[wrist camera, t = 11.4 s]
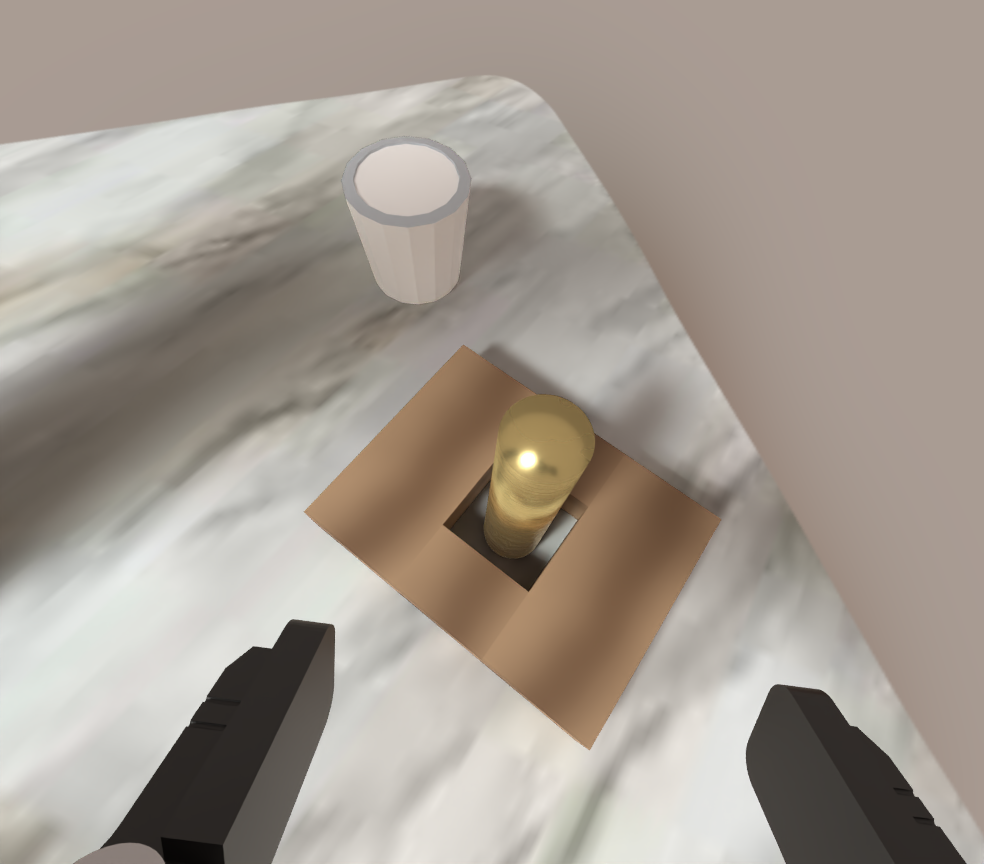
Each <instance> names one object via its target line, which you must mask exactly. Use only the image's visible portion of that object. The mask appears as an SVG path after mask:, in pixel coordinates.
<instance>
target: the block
mask: <svg viewBox="0 0 984 864" xmlns="http://www.w3.org/2000/svg"><path fill="white" fill-rule="evenodd" d="M532 395H537V394H536V393H534V392H533V391H531V390H530V389H528V388H527V387H525V386H524V385H522V384H521V383H519V382H518V381H516V380H515V379H513V378H512V377H510V376H509V375H507V374H506V373H505V372H503V371H502V370H500V369H499V368H497V367H496V366H494V365H493V364H491V363H490V362H488V361H487V360H485V359H484V358H482V357H481V356H479V355H478V354H476V353H475V352H474V351H472V350H471V349H469V348H468V347H466V346H465V345H463V346H462V347H461V348H460V349H459V350H458V351H457V352H456V353H455V354H454V355H453V356H452V357H451V358H450V359H449V360H448V361H447V362H446V363H445V364H444V365H443V367H442V368H441V369H440V370H439V371H438V372H437V373H436V374H435V375H434V376H433V377H432V378H431V379H430V380H429V381H428V382H427V383H426V384H425V385H424V386H423V387H422V389H421V390H420V391H419V392H418V393H417V394H416V395H415V396H414V397H413V398H412V399H411V400H410V401H409V402H408V403H407V404H406V405H405V406H404V407H403V408H402V410H401V411H400V412H399V413H398V414H397V415H396V416H395V417H394V418H393V419H392V420H391V421H390V422H389V423H388V424H387V425H386V426H385V427H384V428H383V429H382V430H381V432H380V433H379V434H378V435H377V436H376V437H375V438H374V439H373V440H372V441H371V442H370V443H369V444H368V445H367V446H366V447H365V448H364V449H363V450H362V451H361V453H360V454H359V455H358V456H357V457H356V458H355V459H354V460H353V461H352V462H351V463H350V464H349V465H348V466H347V467H346V468H345V469H344V470H343V471H342V472H341V473H340V475H339V476H338V477H337V478H336V479H335V480H334V481H333V482H332V483H331V484H330V485H329V486H328V487H327V488H326V489H325V490H324V491H323V492H322V493H321V494H320V496H319V497H318V498H317V499H316V500H315V501H314V502H313V503H312V504H311V505H310V506H309V507H308V508H307V509H306V510H305V511H304V512H305V513H306V514H307V515H308V516H309V517H310V518H311V519H312V520H313V521H314V522H315V523H316V524H317V525H318V526H319V527H321V528H322V529H323V530H324V531H325V532H327V533H328V534H329V535H330V536H331V537H333V538H334V539H335V540H336V541H337V542H339V543H340V544H341V545H342V546H343V547H345V548H346V549H347V550H348V551H349V552H351V553H352V554H353V555H354V556H355V557H357V558H358V559H359V560H360V561H361V562H363V563H364V564H365V565H366V566H367V567H369V568H370V569H371V570H372V571H373V572H375V573H376V574H377V575H378V576H379V577H381V578H382V579H383V580H384V581H385V582H387V583H388V584H389V585H390V586H391V587H392V588H394V589H395V590H396V591H397V592H398V593H400V594H401V595H402V596H403V597H404V598H406V599H407V600H408V601H409V602H410V603H412V604H413V605H414V606H415V607H416V608H418V609H419V610H420V611H421V612H422V613H424V614H425V615H426V616H427V617H428V618H430V619H431V620H432V621H433V622H434V623H436V624H437V625H438V626H439V627H440V628H442V629H443V630H444V631H445V632H446V633H448V634H449V635H450V636H451V637H452V638H454V639H455V640H456V641H457V642H458V643H460V644H461V645H462V646H463V647H464V648H466V649H467V650H468V651H469V652H470V653H472V654H473V655H474V656H475V657H476V658H478V659H479V660H480V661H481V662H482V663H483V664H485V665H486V666H487V667H488V668H489V669H491V670H492V671H493V672H494V673H495V674H497V675H498V676H499V677H500V678H501V679H503V680H504V681H505V682H506V683H507V684H509V685H510V686H511V687H512V688H513V689H515V690H516V691H517V692H518V693H519V694H521V695H522V696H523V697H524V698H525V699H527V700H528V701H529V702H530V703H531V704H533V705H534V706H535V707H536V708H537V709H539V710H540V711H541V712H542V713H543V714H545V715H546V716H547V717H548V718H549V719H551V720H552V721H553V722H554V723H555V724H557V725H558V726H559V727H560V728H561V729H563V730H564V731H565V732H566V733H567V734H569V735H570V736H571V737H572V738H573V739H574V740H576V741H577V742H578V743H580V744H581V745H583V746H584V747H586V748H587V749H588V750H590V749H591V747H592V745H593V744H594V742H595V740H596V738H597V737H598V735H599V733H600V731H601V730H602V728H603V726H604V724H605V723H606V721H607V719H608V717H609V716H610V714H611V712H612V710H613V708H614V707H615V705H616V703H617V701H618V700H619V698H620V696H621V694H622V693H623V691H624V689H625V687H626V686H627V684H628V682H629V680H630V679H631V677H632V675H633V673H634V672H635V670H636V668H637V666H638V665H639V663H640V661H641V659H642V658H643V656H644V654H645V652H646V651H647V649H648V647H649V645H650V644H651V642H652V640H653V638H654V637H655V635H656V633H657V631H658V630H659V628H660V626H661V624H662V623H663V621H664V619H665V617H666V616H667V614H668V612H669V610H670V609H671V607H672V605H673V603H674V602H675V600H676V598H677V596H678V595H679V593H680V591H681V589H682V588H683V586H684V584H685V582H686V581H687V579H688V577H689V575H690V574H691V572H692V570H693V568H694V567H695V565H696V563H697V561H698V560H699V558H700V556H701V554H702V553H703V551H704V549H705V547H706V546H707V544H708V542H709V540H710V539H711V537H712V535H713V533H714V532H715V530H716V528H717V526H718V525H719V523H720V521H721V519H720V518H719V517H717V516H716V515H714V514H713V513H711V512H710V511H708V510H707V509H705V508H704V507H702V506H701V505H699V504H698V503H697V502H695V501H694V500H692V499H691V498H689V497H688V496H686V495H685V494H683V493H682V492H680V491H679V490H677V489H676V488H674V487H673V486H671V485H670V484H668V483H667V482H666V481H664V480H663V479H661V478H660V477H658V476H657V475H655V474H654V473H652V472H651V471H649V470H648V469H646V468H645V467H643V466H642V465H640V464H639V463H637V462H636V461H634V460H633V459H632V458H630V457H629V456H627V455H626V454H624V453H623V452H621V451H620V450H618V449H617V448H615V447H614V446H612V445H611V444H609V443H608V442H606V441H605V440H603V439H602V438H601V437H599V436H598V435H596V434H595V433H594V436H595V448H594V453H593V456H592V458H591V461H590V462H589V464H588V465H587V467H586V469H585V470H584V472H583V473H582V475H581V476H580V478H579V480H578V481H577V483H576V484H575V486H574V488H573V489H572V491H571V492H570V494H569V495H568V497H567V499H566V500H565V502H564V503H563V505H562V507H561V508H562V509H563V510H565V511H566V512H567V513H569V514H570V515H572V516H573V517H574V518H576V519H577V522H576V523H575V525H574V526H573V528H572V529H571V530H570V532H569V533H568V535H567V536H566V538H565V539H564V540H563V542H562V543H561V545H560V546H559V548H558V549H557V550H556V552H555V553H554V555H553V556H552V558H551V559H550V560H549V562H548V563H547V565H546V566H545V568H544V569H543V570H542V572H541V573H540V575H539V576H538V578H537V579H536V580H535V582H534V583H533V585H532V586H531V588H530V589H529V590H528V591H527V590H526V589H524V588H523V587H522V586H520V585H519V584H518V583H517V582H515V581H514V580H513V579H511V578H510V577H509V576H508V575H506V574H505V573H504V572H503V571H501V570H500V569H499V568H497V567H496V566H495V565H494V564H492V563H491V562H490V561H488V560H487V559H486V558H485V557H483V556H482V555H481V554H479V553H478V552H477V551H476V550H474V549H473V548H472V547H470V546H469V545H468V544H467V543H465V542H464V541H463V540H461V539H460V538H459V537H458V536H456V535H455V534H454V533H453V532H451V531H450V529H451V528H452V527H453V525H454V524H455V523H456V522H457V520H458V519H459V518H460V517H461V515H462V514H463V513H464V512H465V511H466V509H467V508H468V507H469V506H470V504H471V503H472V502H473V501H474V499H475V498H476V497H477V496H478V494H479V493H480V492H481V491H482V489H483V488H484V487H485V486H486V485H487V483H488V482H489V481H490V480H491V476H492V470H493V463H494V457H495V450H496V443H497V437H498V430H499V426H500V423H501V420H502V418H503V416H504V414H505V413H506V412H507V410H508V409H509V408H510V407H511V406H512V405H513V404H515V403H516V402H518V401H519V400H521V399H523V398H526V397H529V396H532Z"/></svg>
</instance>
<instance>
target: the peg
mask: <svg viewBox="0 0 984 864" xmlns="http://www.w3.org/2000/svg"><path fill="white" fill-rule="evenodd" d="M594 448H595V436H594V431H593V428H592V425H591V423H590V421H589V419H588V418H587V416H586V415H585V414H584V412H583V411H582V410H581V409H580V408H579V407H577V406H576V405H575V404H573V403H572V402H570V401H568V400H566V399H564V398H562V397H558V396H554V395H547V394H539V395H532V396H529V397H526V398H523V399H521V400H519V401H518V402H516V403H515V404H513V405H512V406H511V407H510V408H509V409H508V410H507V412H506V413H505V414H504V416H503V418H502V420H501V423H500V426H499V430H498V437H497V443H496V450H495V457H494V463H493V470H492V476H491V483H490V489H489V496H488V502H487V509H486V516H485V522H484V536H485V539H486V542H487V544H488V545H489V547H490V548H491V549H492V550H493V551H494V552H495V553H497V554H498V555H500V556H502V557H505V558H511V559H516V558H521V557H524V556H526V555H528V554H529V553H531V552H532V551H533V550H534V549H535V548H536V546H537V545H538V543H539V541H540V540H541V538H542V537H543V535H544V534H545V532H546V530H547V529H548V527H549V526H550V524H551V522H552V521H553V519H554V518H555V516H556V514H557V513H558V511H559V510H560V508H561V507H562V505H563V503H564V502H565V500H566V499H567V497H568V495H569V494H570V492H571V491H572V489H573V488H574V486H575V484H576V483H577V481H578V480H579V478H580V476H581V475H582V473H583V472H584V470H585V469H586V467H587V465H588V464H589V462H590V461H591V458H592V456H593V453H594Z"/></svg>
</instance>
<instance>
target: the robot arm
mask: <svg viewBox="0 0 984 864" xmlns="http://www.w3.org/2000/svg"><path fill="white" fill-rule="evenodd" d="M334 659H335V628H334V625H332V624H325V623H317V622H310V621H302V620H294V619H292V620H290V621H289V622H288V624H287V625H286V626H285V628H284V630H283V631H282V633H281V635H280V637H279V638H278V640H277V642H276V643H275V645H274V647H273V648H272V649H270V648H262V647H254V646H253V647H252V648H251V649H249V650H248V651H247V652H246V653H244V654H243V655H242V656H241V657H239V658H238V659H237V660H235V661H234V662H233V663H232V664H230V665H229V666H228V667H227V668H226V669H225V670H224V671H223V673H222V674H221V676H220V677H219V679H218V680H217V682H216V683H215V685H214V686H213V688H212V689H211V691H210V692H209V694H208V695H207V698H206V701H205V702H203V703H202V704H201V706H200V707H199V708H198V710H197V711H196V713H195V714H194V716H193V717H192V719H191V721H190V725H189V726H188V727H186V728H185V729H184V731H183V732H182V734H181V735H180V737H179V738H178V740H177V741H176V743H175V744H174V746H173V747H172V748H171V750H170V751H169V753H168V754H167V756H166V757H165V759H164V760H163V762H162V763H161V765H160V766H159V768H158V769H157V771H156V772H155V774H154V775H153V777H152V778H151V780H150V781H149V783H148V784H147V785H146V787H145V788H144V790H143V791H142V793H141V794H140V796H139V797H138V799H137V800H136V802H135V803H134V805H133V806H132V808H131V809H130V811H129V812H128V814H127V815H126V817H125V818H124V820H123V821H122V822H121V824H120V825H119V827H118V828H117V829H116V831H115V832H114V833H113V835H112V836H111V837H110V838H109V839H108V840H107V842H106V843H105V844H104V845H103V846H102V847H101V848H100V849H99V850H97V851H94V852H92V853H90V854H88V855H86V856H85V857H83V858H81V859H79V860H78V861H76V862H75V863H73V864H271V863H272V861H273V858H274V856H275V853H276V850H277V848H278V845H279V843H280V840H281V838H282V835H283V833H284V830H285V827H286V825H287V822H288V820H289V817H290V815H291V812H292V809H293V807H294V804H295V802H296V799H297V797H298V794H299V792H300V789H301V786H302V784H303V781H304V779H305V776H306V774H307V771H308V769H309V766H310V763H311V761H312V758H313V756H314V753H315V751H316V748H317V746H318V743H319V740H320V738H321V735H322V733H323V730H324V728H325V725H326V722H327V719H328V715H329V712H330V708H331V703H332V698H333V691H334ZM746 764H747V770H748V775H749V778H750V781H751V784H752V786H753V789H754V791H755V793H756V796H757V798H758V800H759V802H760V805H761V807H762V809H763V812H764V814H765V816H766V819H767V821H768V823H769V825H770V828H771V830H772V832H773V835H774V837H775V839H776V842H777V844H778V846H779V848H780V851H781V853H782V855H783V858H784V860H785V862H786V864H966V862H965V861H964V860H963V858H962V857H961V855H960V854H959V853H958V851H957V850H956V849H955V847H954V846H953V844H952V843H951V842H950V840H949V839H948V837H947V836H946V835H945V833H944V832H943V831H942V829H941V828H940V827H938V826H936V825H935V824H934V818H933V817H932V815H931V814H930V813H929V811H928V810H927V808H926V807H925V806H924V804H923V803H922V802H921V800H920V799H919V797H915V796H914V794H913V789H912V788H911V786H910V785H909V784H908V782H907V781H906V779H905V778H904V777H903V775H902V774H901V773H900V771H899V770H898V768H897V767H896V766H895V764H894V763H893V761H892V760H891V759H890V757H889V756H888V755H887V754H886V753H885V752H884V751H882V750H881V749H880V748H879V747H878V746H877V745H876V744H875V743H874V742H873V741H872V740H871V739H869V738H868V737H867V736H866V735H865V734H864V733H863V732H862V731H861V730H860V729H859V728H858V727H855V726H850V725H849V724H848V722H847V721H846V719H845V718H844V716H843V715H842V713H841V712H840V710H839V709H838V708H837V706H836V705H835V703H834V702H833V700H832V699H831V698H830V697H829V696H828V695H827V694H826V693H825V692H824V691H822V690H818V689H810V688H803V687H795V686H788V685H779V684H777V685H774V686H773V687H772V688H771V689H770V691H769V693H768V695H767V698H766V700H765V703H764V705H763V707H762V710H761V712H760V714H759V717H758V719H757V721H756V724H755V726H754V728H753V731H752V733H751V736H750V738H749V740H748V743H747V748H746Z"/></svg>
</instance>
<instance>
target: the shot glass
mask: <svg viewBox="0 0 984 864" xmlns="http://www.w3.org/2000/svg"><path fill="white" fill-rule="evenodd" d="M341 182H342V186H343V190H344V195H345V199H346V201H347V204H348V207H349V210H350V212H351V215H352V218H353V220H354V223H355V226H356V229H357V231H358V234H359V237H360V239H361V242H362V245H363V248H364V250H365V253H366V256H367V258H368V261H369V264H370V267H371V269H372V272H373V275H374V277H375V280H376V283H377V285H378V286H379V287H380V288H381V289H382V291H383V292H384V293H385V294H386V295H387V296H389V297H391V298H393V299H395V300H397V301H399V302H401V303H409V304H417V305H419V304H424V303H430V302H435V301H437V300H439V299H440V298H442V297H444V296H445V295H447V294H449V293H450V292H451V290H452V289H453V288H454V286H455V285H456V284H457V282H458V280H459V274H460V268H461V260H462V252H463V243H464V235H465V227H466V219H467V211H468V202H469V194H470V186H471V176H470V173H469V171H468V168H467V166H466V163H465V161H464V160H463V159H462V158H461V157H460V156H459V155H457V154H456V153H455V152H454V151H453V150H452V149H451V148H450V147H447V146H445V145H443V144H440V143H438V142H436V141H433V140H431V139H427V138H419V137H410V136H402V137H395V138H388V139H382V140H379V141H377V142H375V143H373V144H371V145H368V146H366V147H364V148H362V149H361V150H360V151H359V152H358V153H357V154H356V155H355V156H354V157H353V158H352V159H351V160H350V161H349V162H348V163H347V164H346V167H345V170H344V173H343V176H342V179H341Z"/></svg>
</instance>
